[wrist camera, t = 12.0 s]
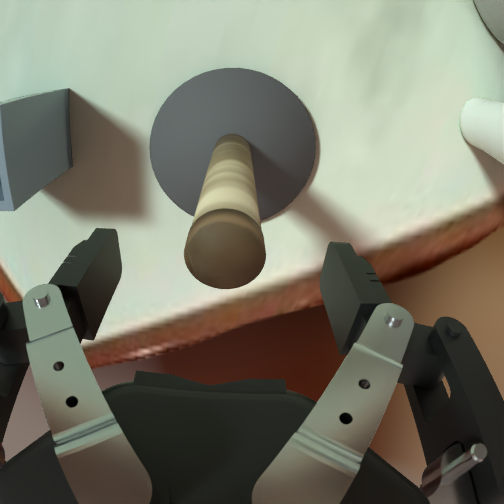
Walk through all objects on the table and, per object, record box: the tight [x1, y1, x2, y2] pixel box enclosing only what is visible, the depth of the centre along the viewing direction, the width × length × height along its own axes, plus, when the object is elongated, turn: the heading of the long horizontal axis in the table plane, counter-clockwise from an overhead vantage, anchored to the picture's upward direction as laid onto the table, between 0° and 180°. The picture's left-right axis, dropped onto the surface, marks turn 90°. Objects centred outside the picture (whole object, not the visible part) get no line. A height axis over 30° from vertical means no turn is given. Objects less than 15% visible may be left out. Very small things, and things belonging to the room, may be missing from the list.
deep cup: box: [0, 88, 73, 211], centre depth 20 cm, size 8×8×10 cm
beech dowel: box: [184, 134, 266, 289], centre depth 19 cm, size 3×3×16 cm
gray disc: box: [150, 68, 316, 221], centre depth 26 cm, size 14×14×1 cm
